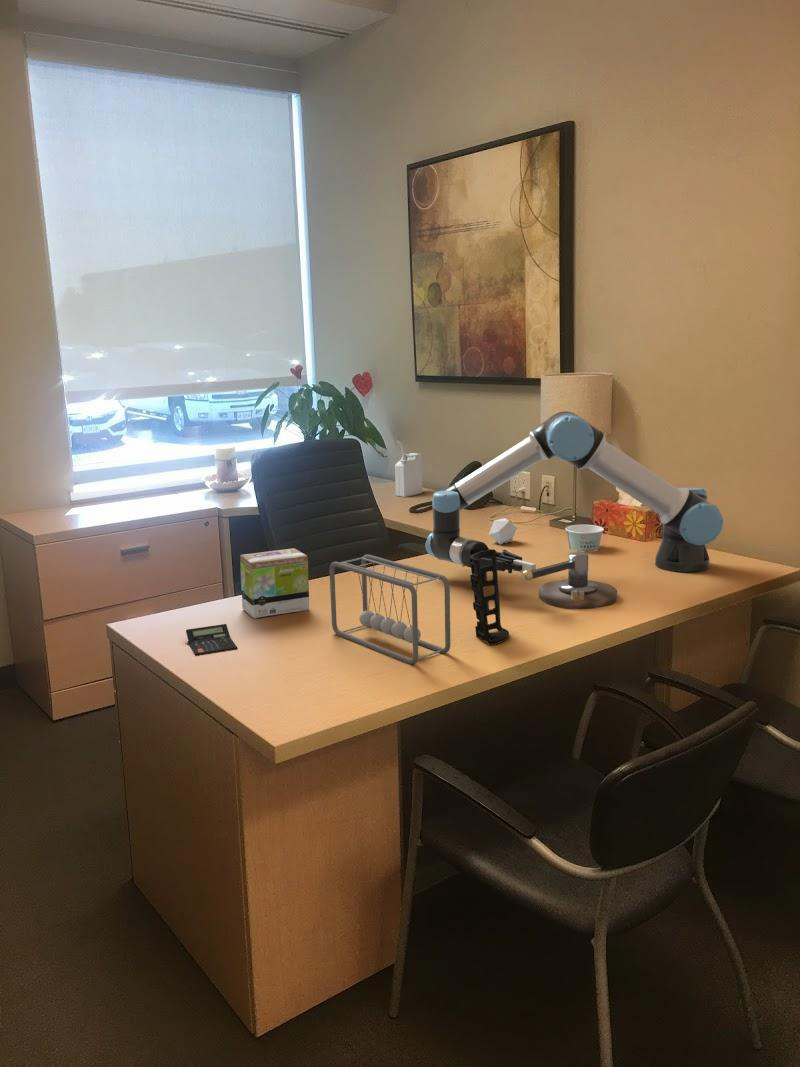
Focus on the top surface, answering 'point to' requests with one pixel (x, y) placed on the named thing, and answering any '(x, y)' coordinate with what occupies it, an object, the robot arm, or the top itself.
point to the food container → (584, 537)
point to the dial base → (578, 596)
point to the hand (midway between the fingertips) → (533, 569)
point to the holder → (486, 598)
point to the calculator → (210, 639)
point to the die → (502, 531)
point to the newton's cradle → (388, 623)
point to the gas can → (408, 474)
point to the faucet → (575, 574)
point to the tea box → (274, 582)
